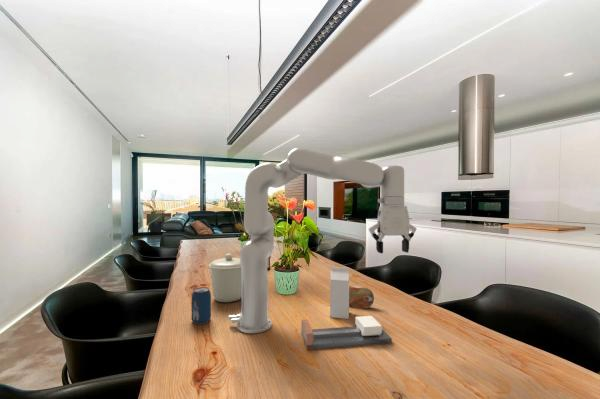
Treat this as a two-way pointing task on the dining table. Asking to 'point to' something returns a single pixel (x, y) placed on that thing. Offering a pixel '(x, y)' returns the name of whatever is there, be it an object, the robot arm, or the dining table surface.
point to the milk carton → (339, 292)
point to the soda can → (201, 305)
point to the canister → (226, 278)
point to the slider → (368, 326)
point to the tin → (360, 297)
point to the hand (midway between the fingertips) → (392, 252)
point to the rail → (339, 337)
